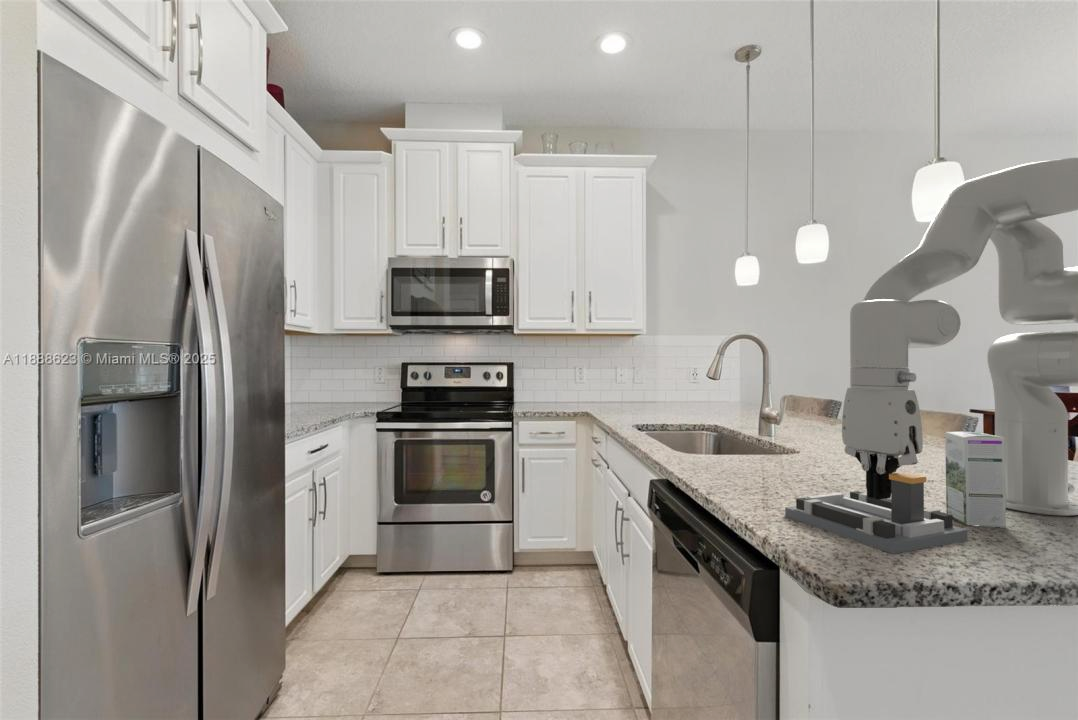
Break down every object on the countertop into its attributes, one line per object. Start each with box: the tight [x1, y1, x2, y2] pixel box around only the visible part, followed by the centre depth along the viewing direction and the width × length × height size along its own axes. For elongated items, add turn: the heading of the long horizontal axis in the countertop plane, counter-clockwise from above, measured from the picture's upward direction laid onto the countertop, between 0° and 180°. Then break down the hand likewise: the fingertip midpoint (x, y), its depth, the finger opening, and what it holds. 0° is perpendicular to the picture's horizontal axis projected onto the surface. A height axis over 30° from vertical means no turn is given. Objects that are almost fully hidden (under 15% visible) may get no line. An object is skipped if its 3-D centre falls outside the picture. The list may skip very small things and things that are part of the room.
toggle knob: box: [889, 471, 927, 525], centre depth 74 cm, size 3×3×8 cm
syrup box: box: [944, 430, 1007, 529], centre depth 82 cm, size 6×6×14 cm
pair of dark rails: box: [795, 490, 954, 539], centre depth 79 cm, size 15×15×2 cm
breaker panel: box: [784, 492, 969, 555], centre depth 79 cm, size 16×18×3 cm
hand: (878, 497), depth 78 cm, fingers closed
